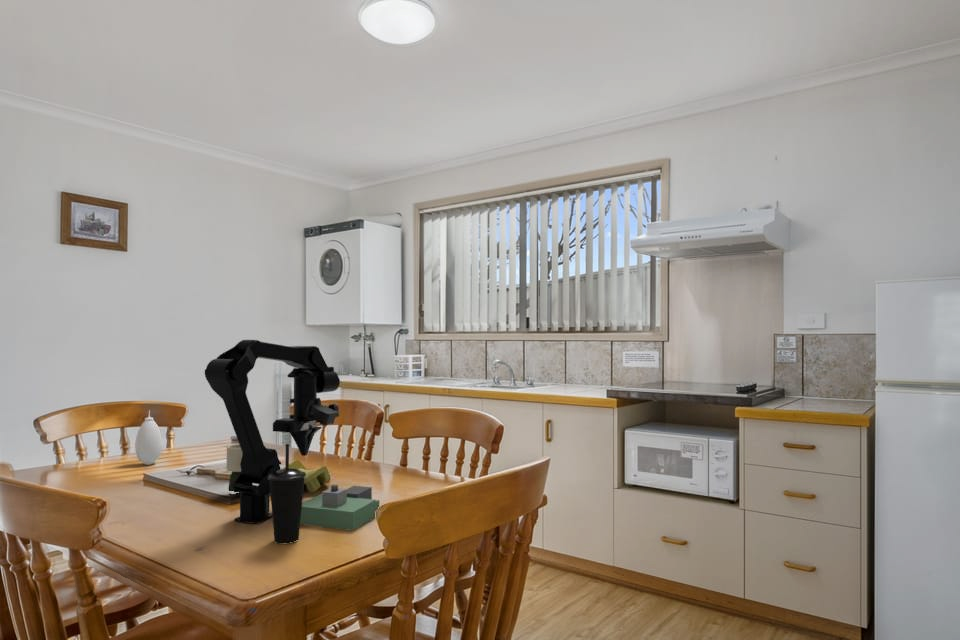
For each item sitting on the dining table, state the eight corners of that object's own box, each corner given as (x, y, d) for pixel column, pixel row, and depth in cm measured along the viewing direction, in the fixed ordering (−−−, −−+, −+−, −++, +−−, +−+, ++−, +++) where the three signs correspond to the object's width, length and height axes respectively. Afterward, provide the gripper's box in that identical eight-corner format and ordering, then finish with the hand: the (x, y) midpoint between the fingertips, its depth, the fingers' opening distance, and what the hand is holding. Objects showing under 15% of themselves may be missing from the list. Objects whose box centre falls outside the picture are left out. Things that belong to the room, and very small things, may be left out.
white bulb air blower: (159, 461, 206) (160, 407, 207) (164, 465, 200) (164, 410, 201) (133, 464, 202) (133, 409, 202) (137, 468, 195) (138, 411, 196)
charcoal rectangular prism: (357, 515, 146) (357, 494, 146) (339, 513, 147) (339, 492, 147) (371, 507, 152) (371, 487, 152) (353, 505, 154) (353, 485, 154)
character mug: (261, 496, 162) (262, 446, 163) (234, 500, 158) (235, 450, 158) (246, 488, 170) (246, 441, 171) (219, 492, 166) (220, 444, 166)
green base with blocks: (353, 530, 134) (353, 492, 134) (294, 523, 139) (295, 487, 139) (388, 509, 150) (388, 475, 150) (335, 503, 155) (335, 471, 155)
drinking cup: (266, 548, 123) (267, 448, 123) (268, 536, 130) (269, 442, 131) (305, 544, 125) (306, 446, 126) (305, 532, 133) (306, 440, 133)
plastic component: (271, 475, 176) (300, 456, 182) (282, 497, 177) (311, 477, 183) (297, 483, 160) (328, 462, 166) (309, 507, 162) (340, 485, 168)
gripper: (310, 399, 146) (309, 464, 146) (351, 392, 164) (350, 451, 163) (271, 397, 150) (270, 461, 149) (316, 391, 167) (315, 448, 167)
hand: (304, 455), depth 157 cm, fingers closed
